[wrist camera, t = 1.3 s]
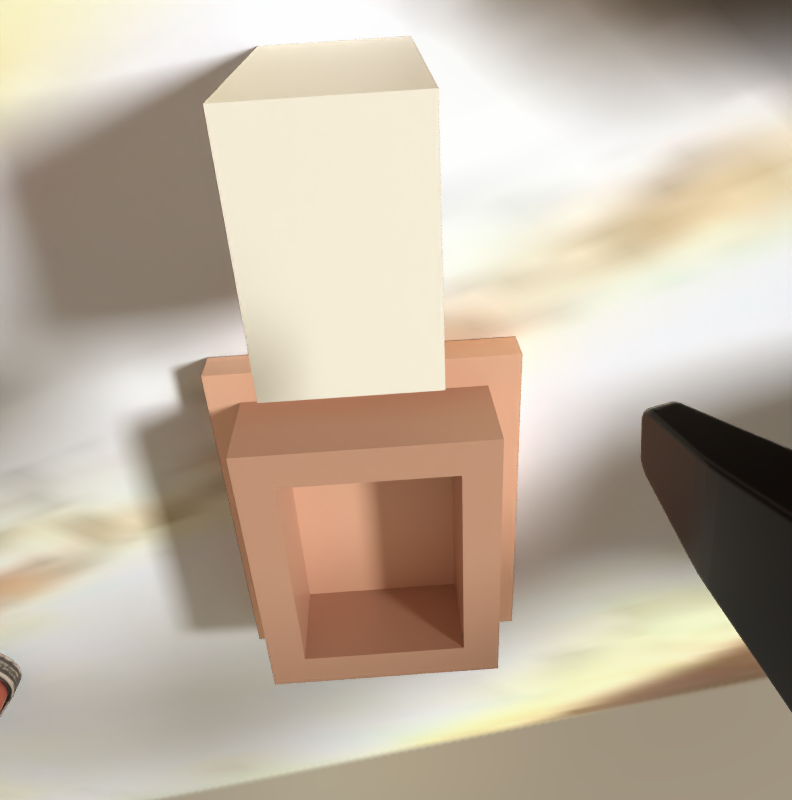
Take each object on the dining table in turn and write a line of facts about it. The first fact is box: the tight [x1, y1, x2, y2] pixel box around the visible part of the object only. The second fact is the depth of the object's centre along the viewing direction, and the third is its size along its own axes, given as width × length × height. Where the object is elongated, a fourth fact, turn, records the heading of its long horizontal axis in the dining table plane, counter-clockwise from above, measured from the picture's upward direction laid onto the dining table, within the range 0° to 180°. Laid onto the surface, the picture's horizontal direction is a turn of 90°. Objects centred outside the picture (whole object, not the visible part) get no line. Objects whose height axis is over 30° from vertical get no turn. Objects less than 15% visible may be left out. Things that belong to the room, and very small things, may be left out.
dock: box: [201, 337, 522, 684], centre depth 25 cm, size 10×12×4 cm
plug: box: [203, 36, 445, 403], centre depth 18 cm, size 4×6×8 cm, turn 3°
